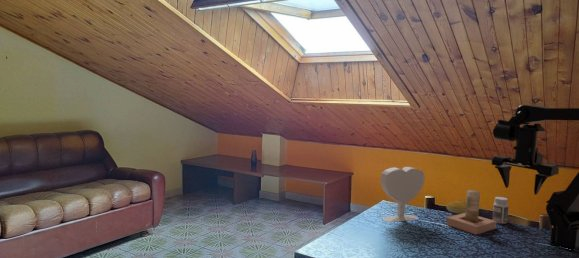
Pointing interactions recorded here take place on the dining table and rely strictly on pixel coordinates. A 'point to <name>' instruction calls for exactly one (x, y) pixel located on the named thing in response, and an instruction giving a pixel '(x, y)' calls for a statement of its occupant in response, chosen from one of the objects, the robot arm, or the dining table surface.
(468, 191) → the beech peg
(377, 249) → the dining table surface
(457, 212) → the bread roll
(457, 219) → the socket collar
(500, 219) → the pill bottle
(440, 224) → the dining table surface
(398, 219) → the heart sculpture
